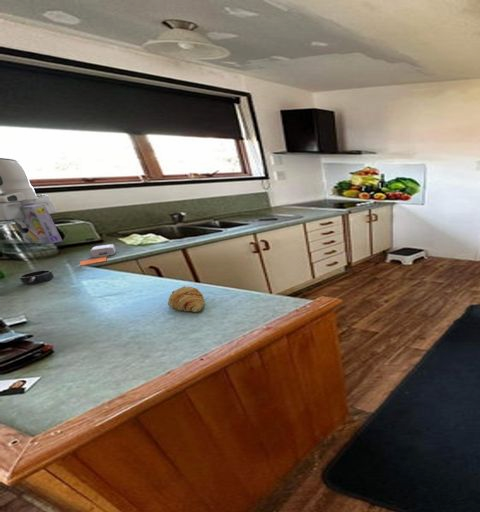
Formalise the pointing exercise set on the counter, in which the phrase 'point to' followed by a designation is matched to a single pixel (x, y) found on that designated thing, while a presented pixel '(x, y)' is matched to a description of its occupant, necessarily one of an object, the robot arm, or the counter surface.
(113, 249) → the charger
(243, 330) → the counter surface
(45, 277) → the pan
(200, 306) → the croissant
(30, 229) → the cake pan box
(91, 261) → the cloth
